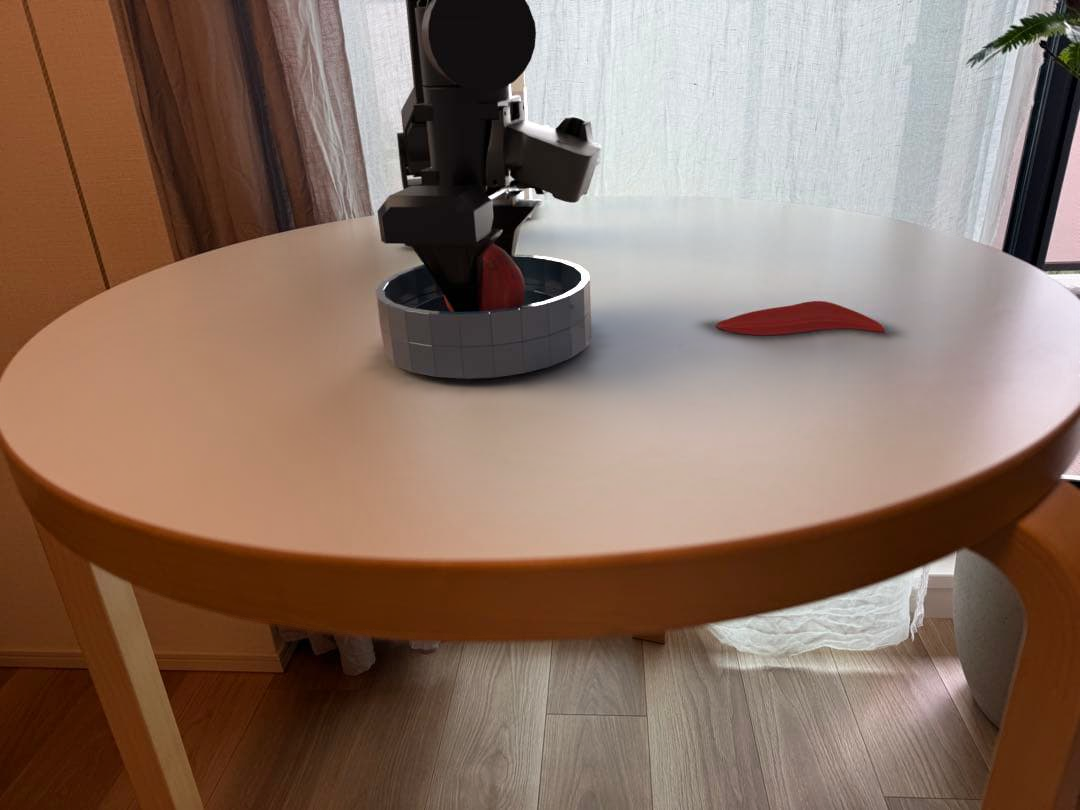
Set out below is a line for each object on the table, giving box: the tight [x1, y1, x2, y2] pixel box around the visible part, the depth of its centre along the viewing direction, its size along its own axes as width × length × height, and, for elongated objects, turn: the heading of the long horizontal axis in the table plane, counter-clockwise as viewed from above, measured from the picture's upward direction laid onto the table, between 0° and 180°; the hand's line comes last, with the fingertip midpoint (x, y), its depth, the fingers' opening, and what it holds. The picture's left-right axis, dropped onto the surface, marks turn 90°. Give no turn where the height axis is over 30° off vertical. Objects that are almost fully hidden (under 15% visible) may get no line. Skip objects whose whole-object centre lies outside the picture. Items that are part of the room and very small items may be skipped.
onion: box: [444, 244, 525, 312], centre depth 59 cm, size 6×6×8 cm
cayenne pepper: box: [715, 300, 886, 336], centre depth 61 cm, size 12×5×2 cm, turn 70°
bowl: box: [374, 254, 592, 380], centre depth 60 cm, size 15×15×5 cm
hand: (485, 312), depth 60 cm, fingers closed on onion, 6 cm apart
